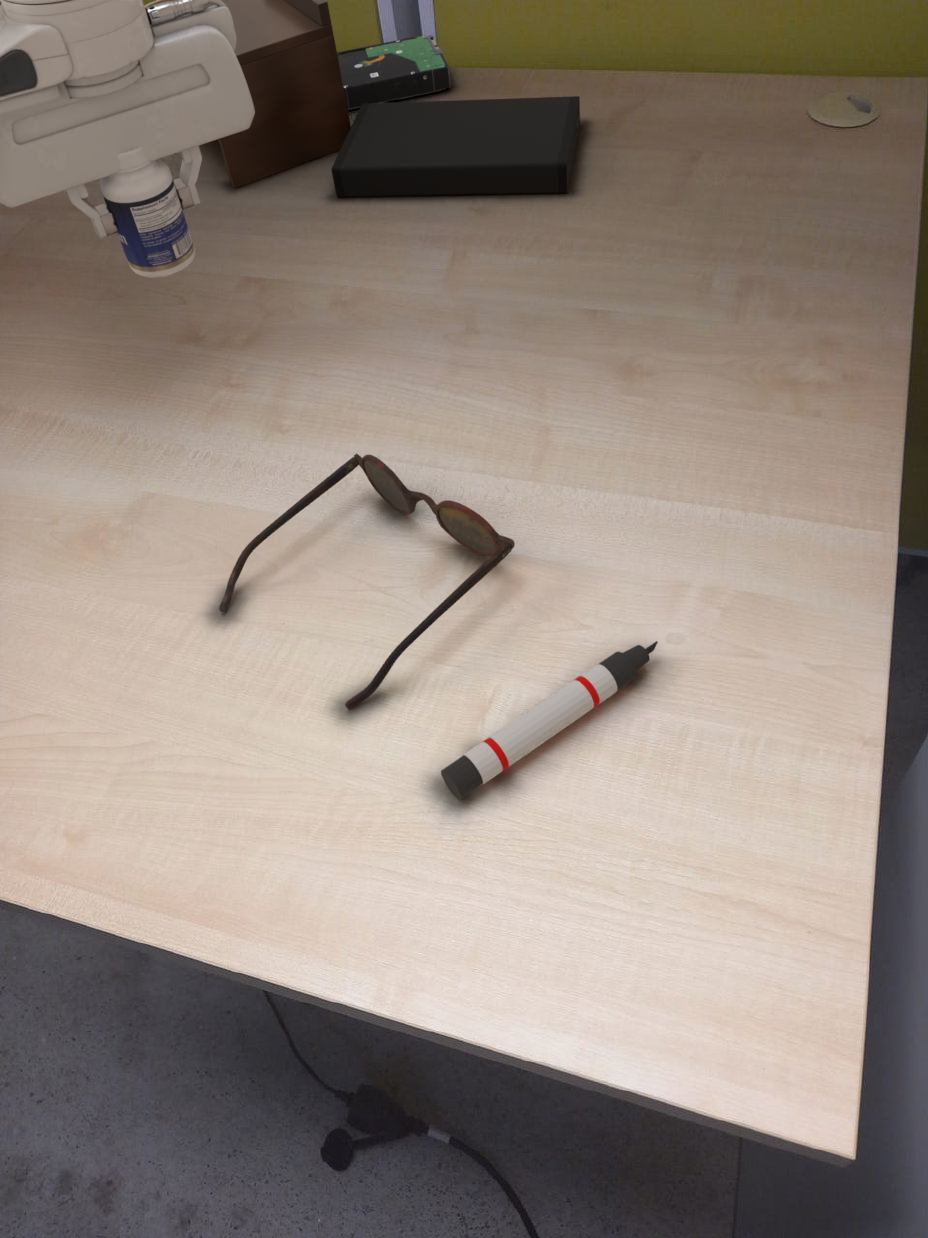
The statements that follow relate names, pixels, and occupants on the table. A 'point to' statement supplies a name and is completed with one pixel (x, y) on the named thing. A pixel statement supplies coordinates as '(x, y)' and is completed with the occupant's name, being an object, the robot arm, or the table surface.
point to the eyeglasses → (449, 514)
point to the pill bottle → (148, 215)
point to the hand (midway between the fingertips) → (148, 218)
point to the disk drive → (393, 71)
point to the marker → (544, 721)
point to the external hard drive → (459, 147)
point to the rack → (285, 87)
